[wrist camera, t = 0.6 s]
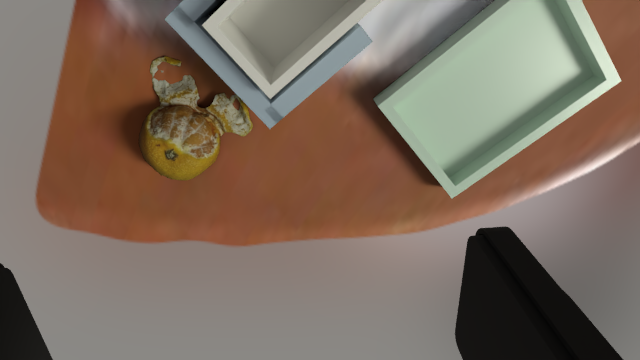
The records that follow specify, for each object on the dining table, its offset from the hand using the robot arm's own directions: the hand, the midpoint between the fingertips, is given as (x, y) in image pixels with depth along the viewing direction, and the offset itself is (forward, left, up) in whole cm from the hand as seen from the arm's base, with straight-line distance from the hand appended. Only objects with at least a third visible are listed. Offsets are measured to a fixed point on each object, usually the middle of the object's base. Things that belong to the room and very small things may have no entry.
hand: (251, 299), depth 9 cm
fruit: (+8, -1, -25) cm, 26 cm away
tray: (-11, +11, -24) cm, 29 cm away
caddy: (-4, -3, -24) cm, 25 cm away
